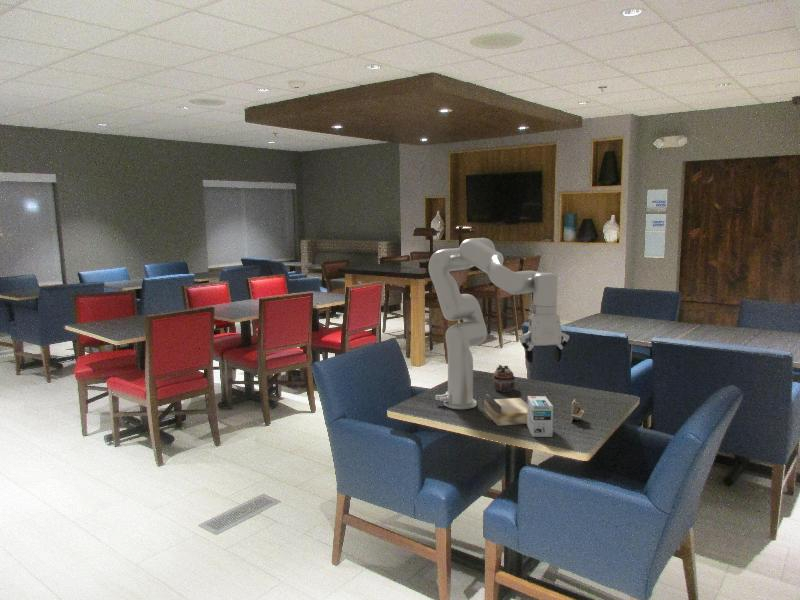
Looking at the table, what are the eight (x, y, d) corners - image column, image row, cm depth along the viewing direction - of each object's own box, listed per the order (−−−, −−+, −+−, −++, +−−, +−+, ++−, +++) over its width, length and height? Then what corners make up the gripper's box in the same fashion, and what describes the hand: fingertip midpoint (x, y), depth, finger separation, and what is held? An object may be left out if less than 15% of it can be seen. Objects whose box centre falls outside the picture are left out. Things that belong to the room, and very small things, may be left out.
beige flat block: (497, 425, 202) (498, 407, 201) (483, 410, 218) (484, 393, 217) (536, 423, 204) (536, 405, 203) (519, 408, 220) (520, 391, 219)
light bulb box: (553, 437, 192) (554, 405, 190) (532, 437, 192) (533, 405, 190) (545, 425, 202) (546, 395, 200) (526, 425, 202) (526, 395, 201)
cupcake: (516, 393, 239) (517, 369, 237) (492, 392, 240) (492, 368, 238) (514, 386, 248) (515, 363, 246) (491, 385, 249) (492, 362, 248)
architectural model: (583, 420, 208) (584, 400, 207) (580, 426, 202) (581, 405, 201) (573, 418, 210) (574, 398, 209) (570, 425, 204) (570, 404, 203)
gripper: (523, 313, 188) (522, 365, 190) (574, 311, 190) (573, 362, 193) (515, 309, 195) (514, 359, 197) (564, 307, 197) (563, 357, 200)
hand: (543, 361), depth 195 cm, fingers open, 9 cm apart
